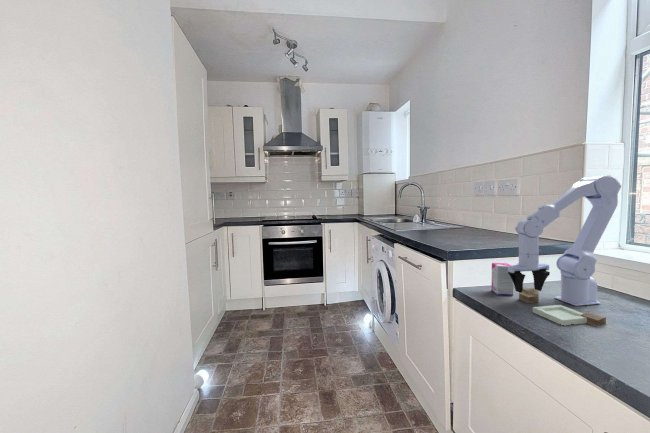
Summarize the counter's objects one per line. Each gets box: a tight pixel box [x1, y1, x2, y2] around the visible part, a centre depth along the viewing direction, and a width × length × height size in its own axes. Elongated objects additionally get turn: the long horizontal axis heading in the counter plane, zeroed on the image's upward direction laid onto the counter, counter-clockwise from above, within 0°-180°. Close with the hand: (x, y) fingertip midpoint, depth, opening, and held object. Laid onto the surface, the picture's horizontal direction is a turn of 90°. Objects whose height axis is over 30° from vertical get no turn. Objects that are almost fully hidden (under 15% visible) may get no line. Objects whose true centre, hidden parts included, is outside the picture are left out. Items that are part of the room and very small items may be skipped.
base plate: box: [532, 304, 588, 326], centre depth 85 cm, size 10×10×2 cm
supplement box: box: [491, 262, 514, 297], centre depth 107 cm, size 6×6×12 cm
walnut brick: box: [581, 311, 607, 327], centre depth 80 cm, size 4×4×2 cm
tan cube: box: [518, 286, 540, 304], centre depth 99 cm, size 4×4×4 cm
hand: (528, 290), depth 99 cm, fingers open, 7 cm apart
